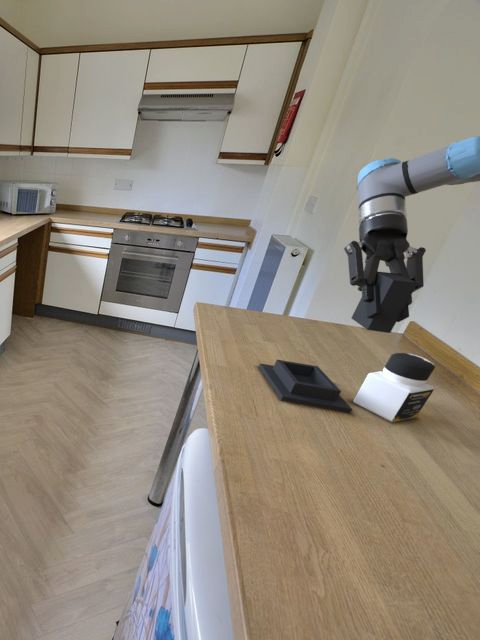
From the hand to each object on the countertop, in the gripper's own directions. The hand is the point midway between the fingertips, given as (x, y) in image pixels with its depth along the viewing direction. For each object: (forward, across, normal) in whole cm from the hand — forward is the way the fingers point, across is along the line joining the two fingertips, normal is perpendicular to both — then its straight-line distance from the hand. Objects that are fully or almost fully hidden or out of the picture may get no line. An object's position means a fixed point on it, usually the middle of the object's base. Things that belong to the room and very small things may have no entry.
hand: (387, 317), depth 84 cm
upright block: (0, 0, -5) cm, 5 cm away
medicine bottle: (+19, -1, -5) cm, 19 cm away
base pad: (+16, +12, -7) cm, 21 cm away
